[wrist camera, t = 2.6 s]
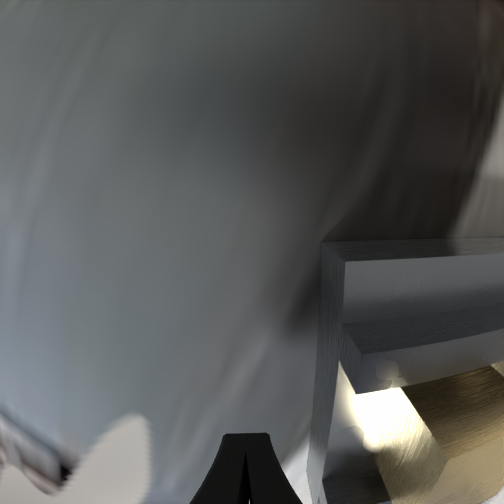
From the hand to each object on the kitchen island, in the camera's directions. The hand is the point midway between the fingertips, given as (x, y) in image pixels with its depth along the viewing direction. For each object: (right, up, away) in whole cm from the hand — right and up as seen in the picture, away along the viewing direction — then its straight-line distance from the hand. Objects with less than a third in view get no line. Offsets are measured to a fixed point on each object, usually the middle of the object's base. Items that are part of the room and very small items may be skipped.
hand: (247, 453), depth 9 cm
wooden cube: (+7, 0, +1) cm, 7 cm away
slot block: (+13, +1, +4) cm, 13 cm away
